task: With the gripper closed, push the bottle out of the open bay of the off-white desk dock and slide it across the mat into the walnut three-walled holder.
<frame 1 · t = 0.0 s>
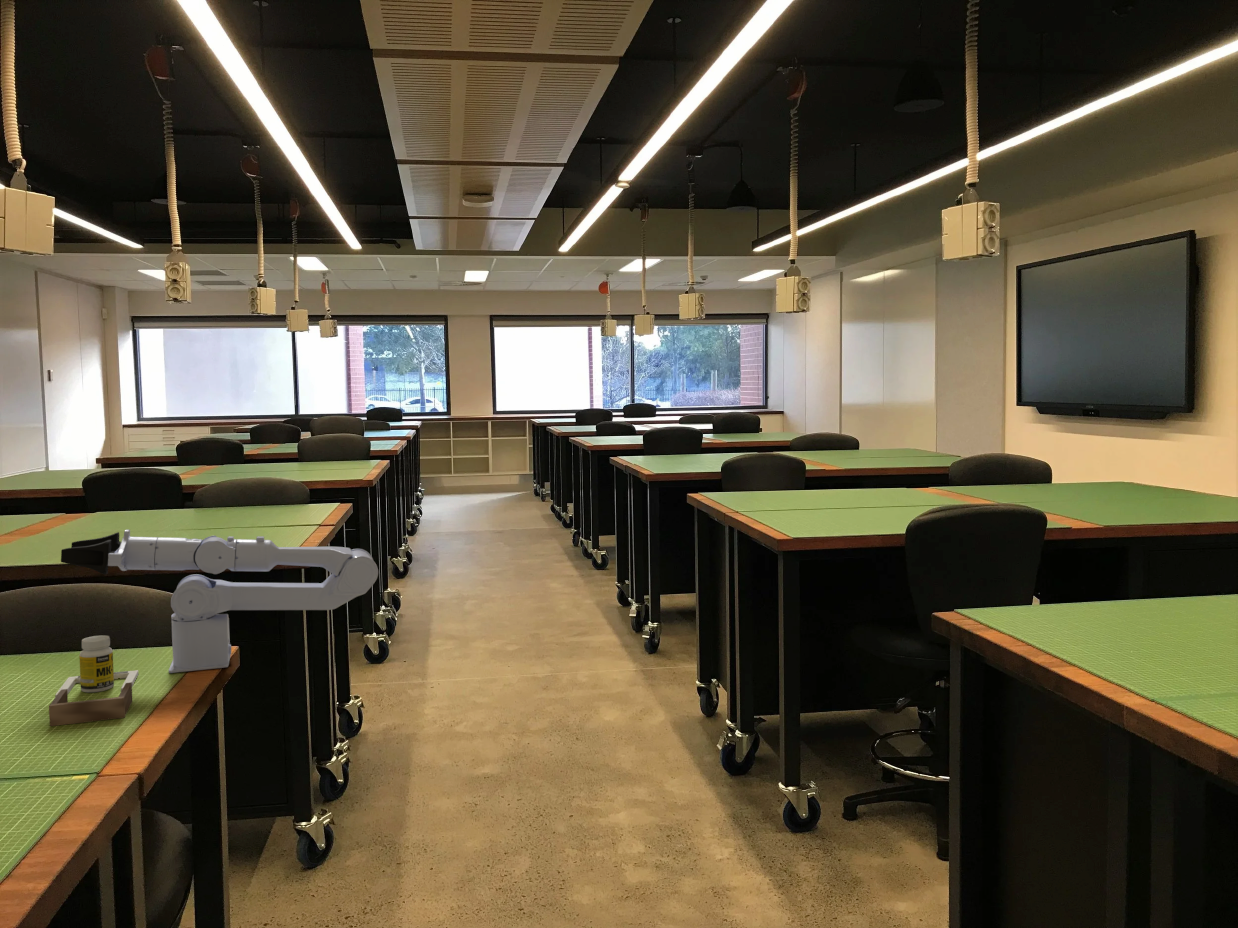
hand: (66, 551, 150), 22 cm above the table, tool horizontal, fingers open, 7 cm apart
supplement bottle: (97, 689, 146), on the table
dock: (97, 688, 146), on the table
holder: (93, 712, 135), on the table
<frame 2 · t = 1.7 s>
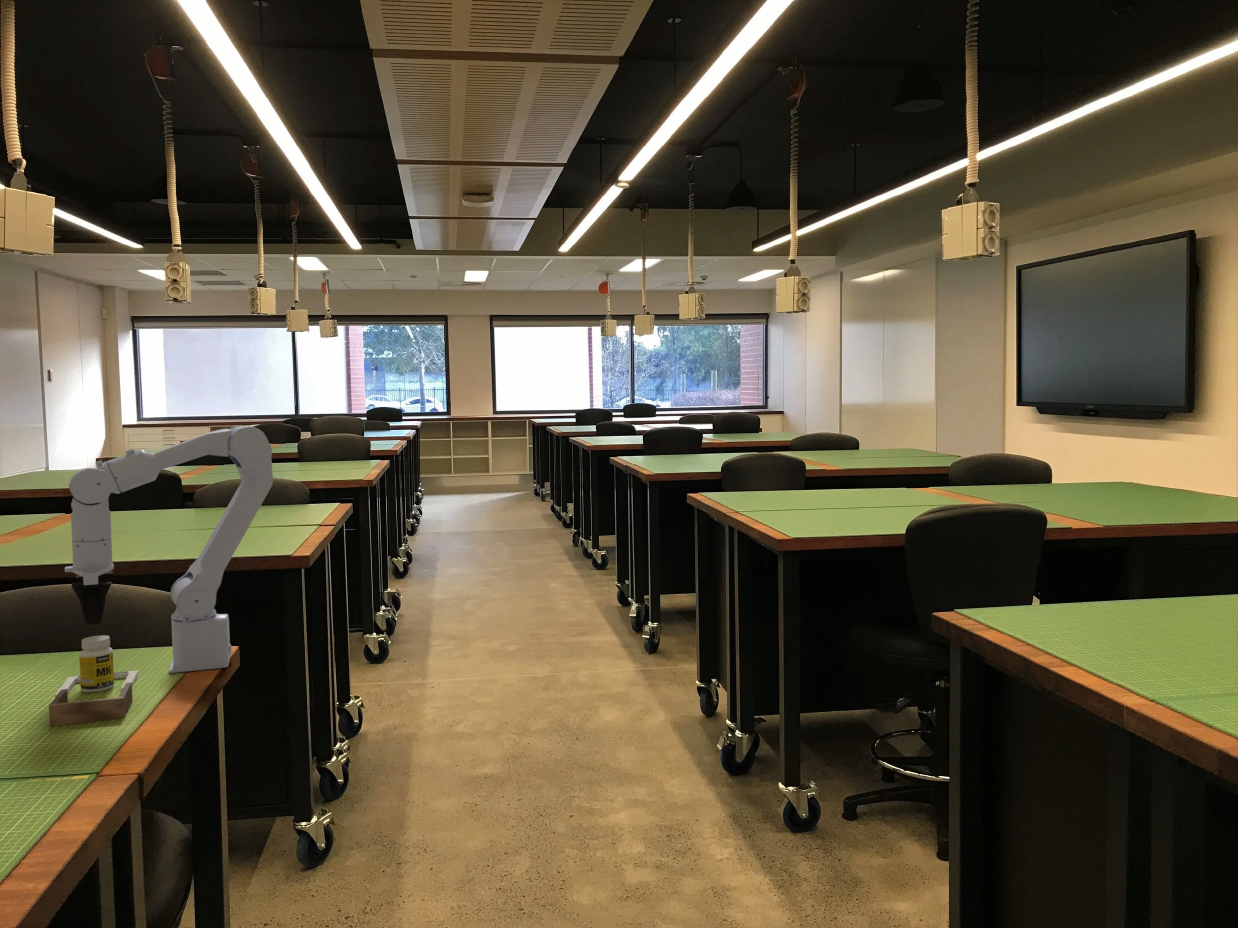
hand: (94, 619, 150), 10 cm above the table, tool pointing down, fingers open, 6 cm apart
nothing on the table moved.
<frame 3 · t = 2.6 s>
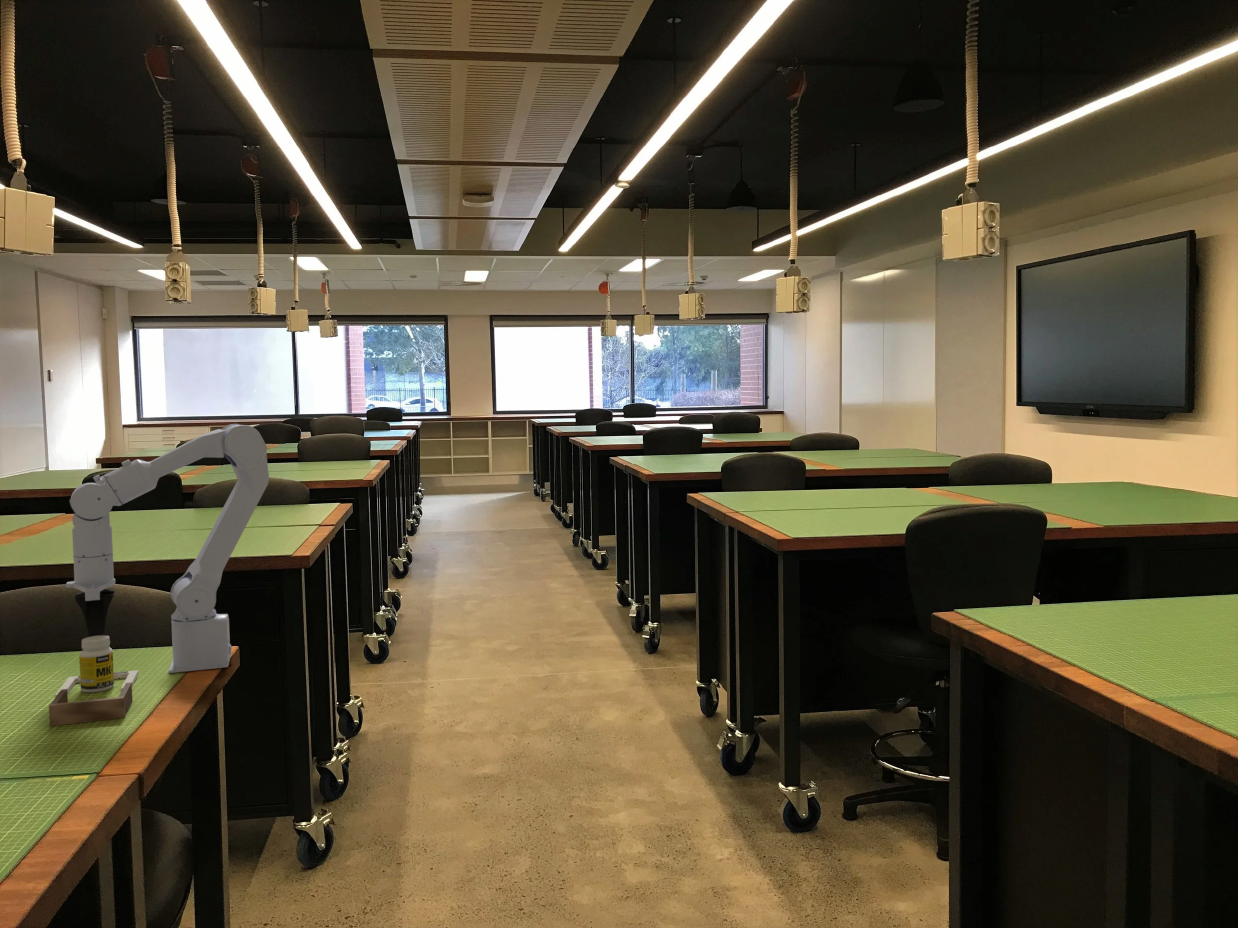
hand: (96, 634, 150), 8 cm above the table, tool pointing down, fingers closed
nothing on the table moved.
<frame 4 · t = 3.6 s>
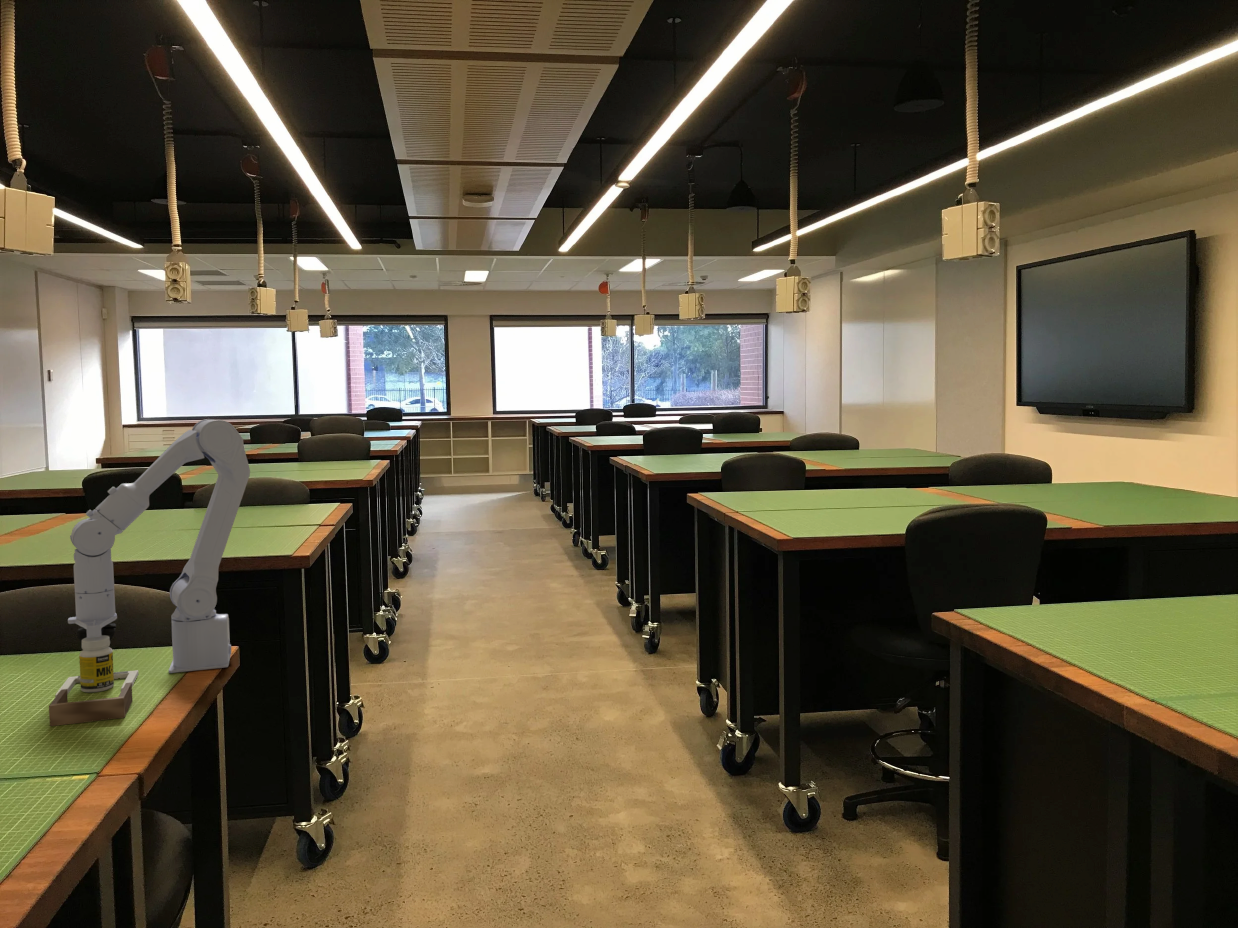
hand: (98, 669, 150), 2 cm above the table, tool pointing down, fingers closed
supplement bottle: (97, 689, 146), on the table, touching gripper
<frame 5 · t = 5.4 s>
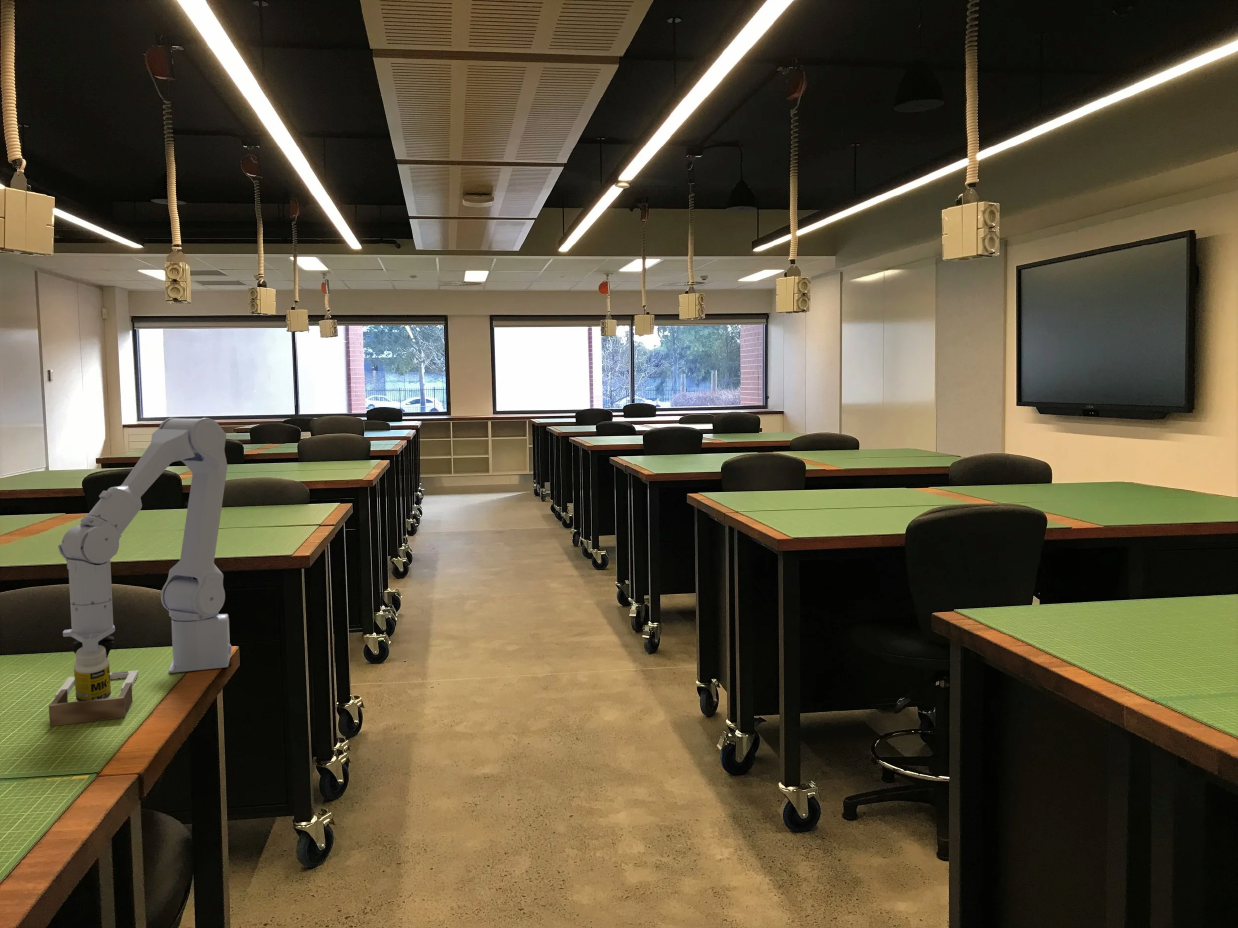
hand: (95, 684, 142), 2 cm above the table, tool pointing down, fingers closed
supplement bottle: (94, 698, 140), on the table, touching gripper
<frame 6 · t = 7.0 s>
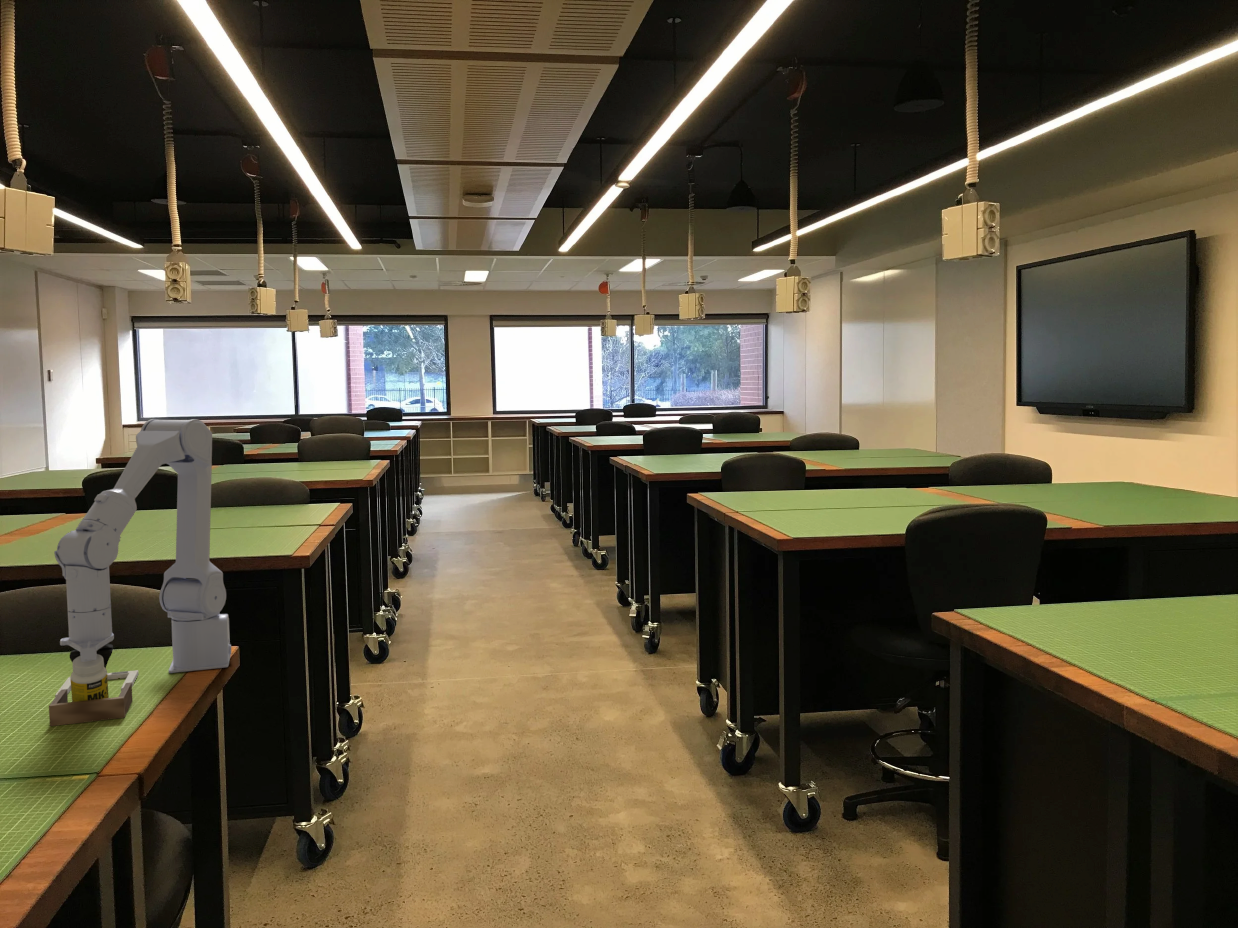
hand: (93, 694, 137), 2 cm above the table, tool pointing down, fingers closed
supplement bottle: (91, 709, 135), on the table, touching gripper
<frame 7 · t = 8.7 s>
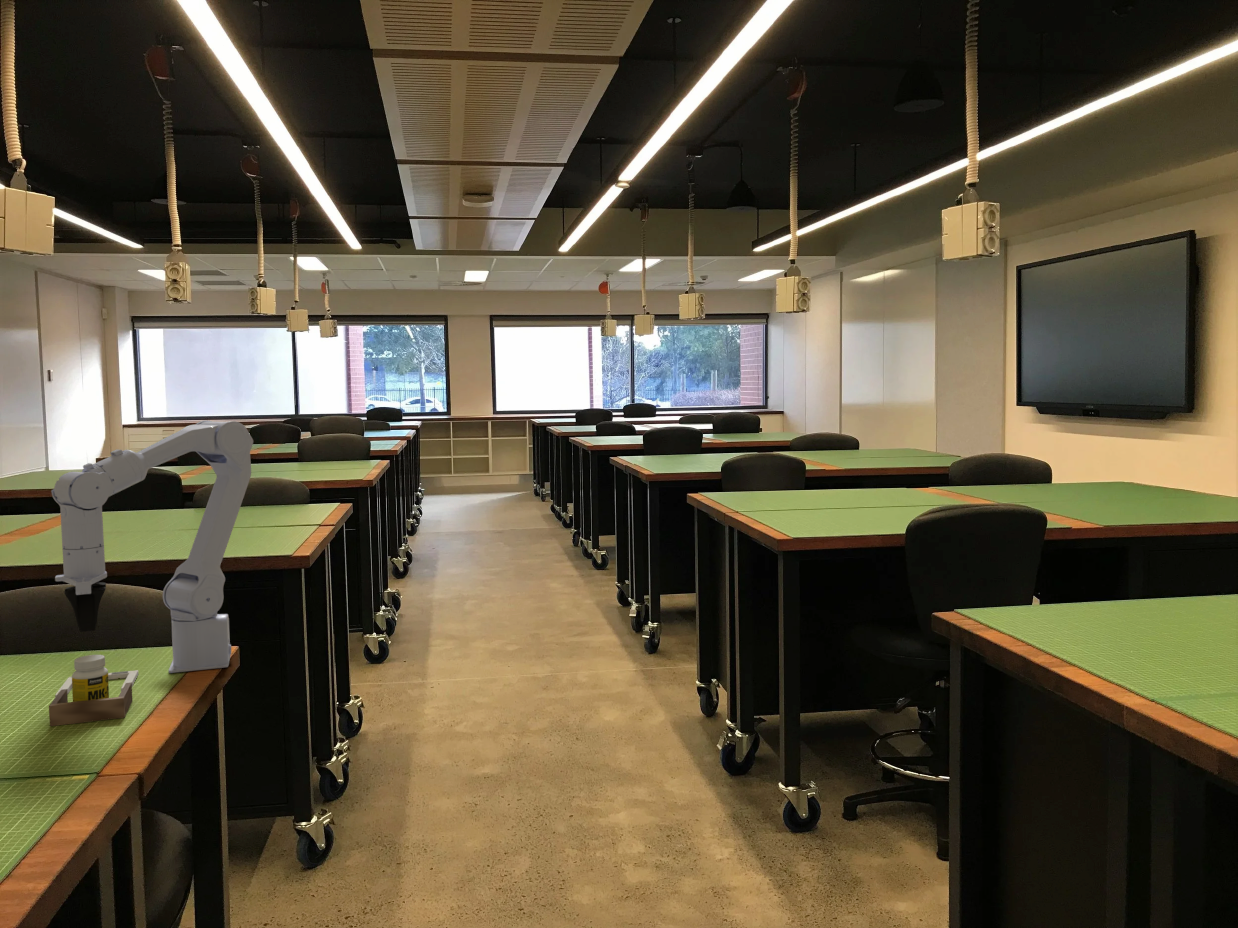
hand: (87, 630, 143), 10 cm above the table, tool pointing down, fingers closed
supplement bottle: (91, 713, 135), on the table
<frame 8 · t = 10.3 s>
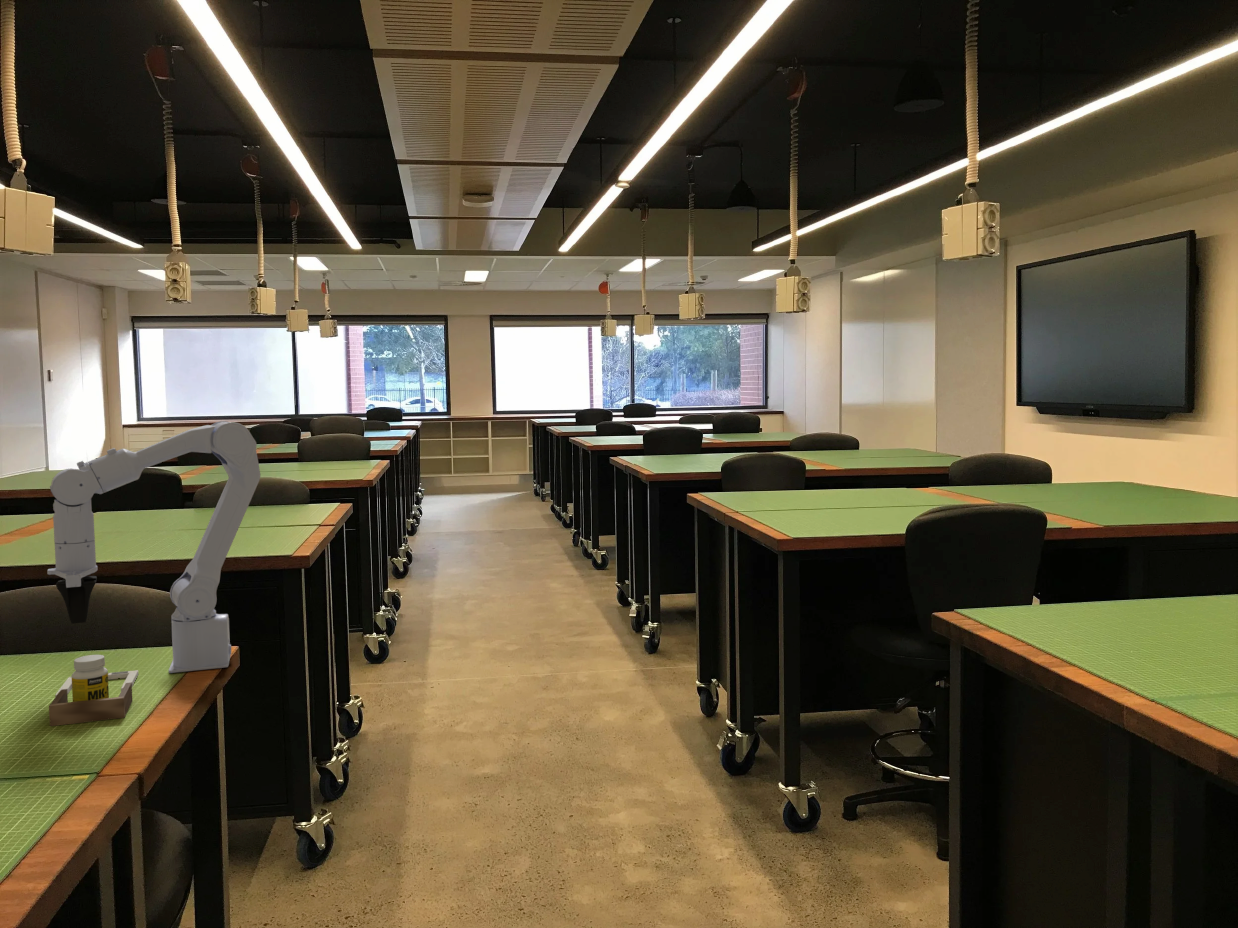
hand: (78, 622, 148), 10 cm above the table, tool pointing down, fingers closed
nothing on the table moved.
at the end: supplement bottle inside the target area on the holder (0.2 cm from its centre), point 0.0 cm above the holder's base; supplement bottle moved 12.4 cm from its start; the gripper is holding nothing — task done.
